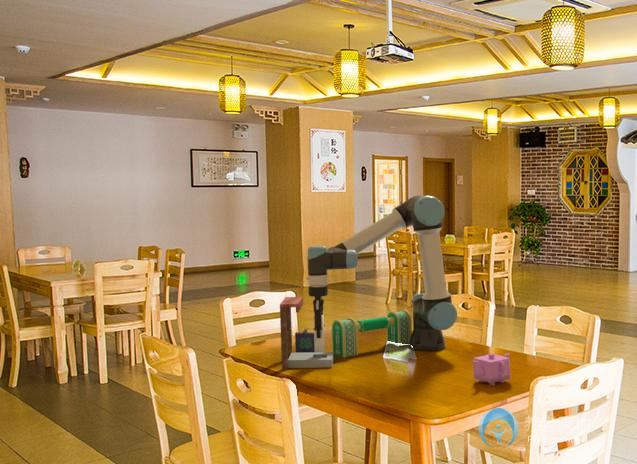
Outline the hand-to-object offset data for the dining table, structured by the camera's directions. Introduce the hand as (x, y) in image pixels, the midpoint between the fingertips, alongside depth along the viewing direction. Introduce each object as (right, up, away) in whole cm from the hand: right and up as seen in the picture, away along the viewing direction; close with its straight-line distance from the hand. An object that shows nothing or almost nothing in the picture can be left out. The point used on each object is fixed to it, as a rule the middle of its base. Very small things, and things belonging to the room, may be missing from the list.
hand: (319, 344), depth 264 cm
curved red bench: (-10, -8, +1) cm, 13 cm away
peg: (0, -3, 0) cm, 3 cm away
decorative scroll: (+23, -6, +22) cm, 32 cm away
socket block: (-3, -8, +1) cm, 8 cm away
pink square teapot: (+59, -8, -31) cm, 67 cm away
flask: (-5, -7, +18) cm, 20 cm away
